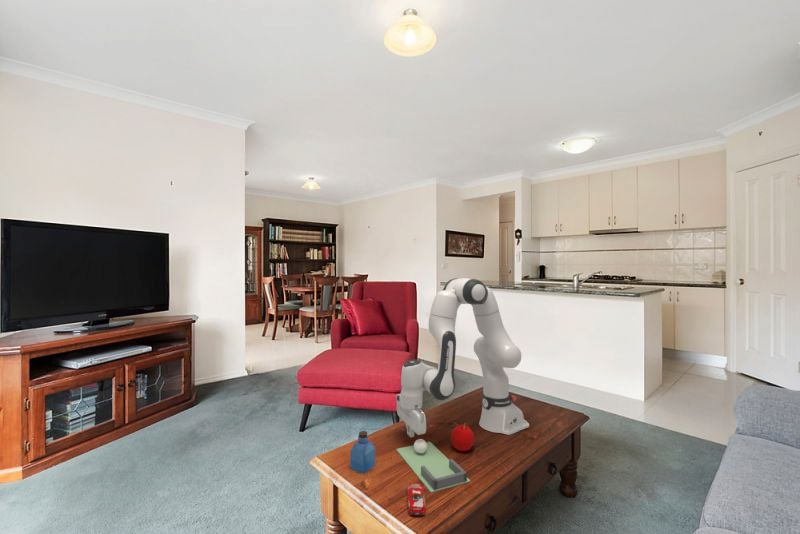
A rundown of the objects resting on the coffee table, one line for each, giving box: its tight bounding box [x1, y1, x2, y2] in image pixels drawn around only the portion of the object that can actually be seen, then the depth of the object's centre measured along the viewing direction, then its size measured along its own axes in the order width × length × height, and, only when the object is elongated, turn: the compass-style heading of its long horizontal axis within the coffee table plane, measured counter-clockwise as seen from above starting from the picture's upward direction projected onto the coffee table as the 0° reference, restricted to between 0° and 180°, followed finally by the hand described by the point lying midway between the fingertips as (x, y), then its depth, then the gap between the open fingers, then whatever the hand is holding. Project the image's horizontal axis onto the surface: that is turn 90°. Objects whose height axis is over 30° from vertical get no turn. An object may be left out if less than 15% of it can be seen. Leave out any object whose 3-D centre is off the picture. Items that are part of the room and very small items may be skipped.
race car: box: [406, 482, 427, 517], centre depth 106 cm, size 13×5×4 cm, turn 179°
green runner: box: [395, 441, 471, 494], centre depth 126 cm, size 15×28×1 cm, turn 24°
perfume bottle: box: [349, 430, 376, 475], centre depth 124 cm, size 6×6×12 cm
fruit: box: [450, 423, 475, 452], centre depth 138 cm, size 9×9×10 cm
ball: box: [413, 438, 427, 454], centre depth 134 cm, size 5×5×5 cm
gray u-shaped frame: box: [421, 458, 468, 490], centre depth 118 cm, size 12×9×3 cm
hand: (410, 435), depth 141 cm, fingers closed
